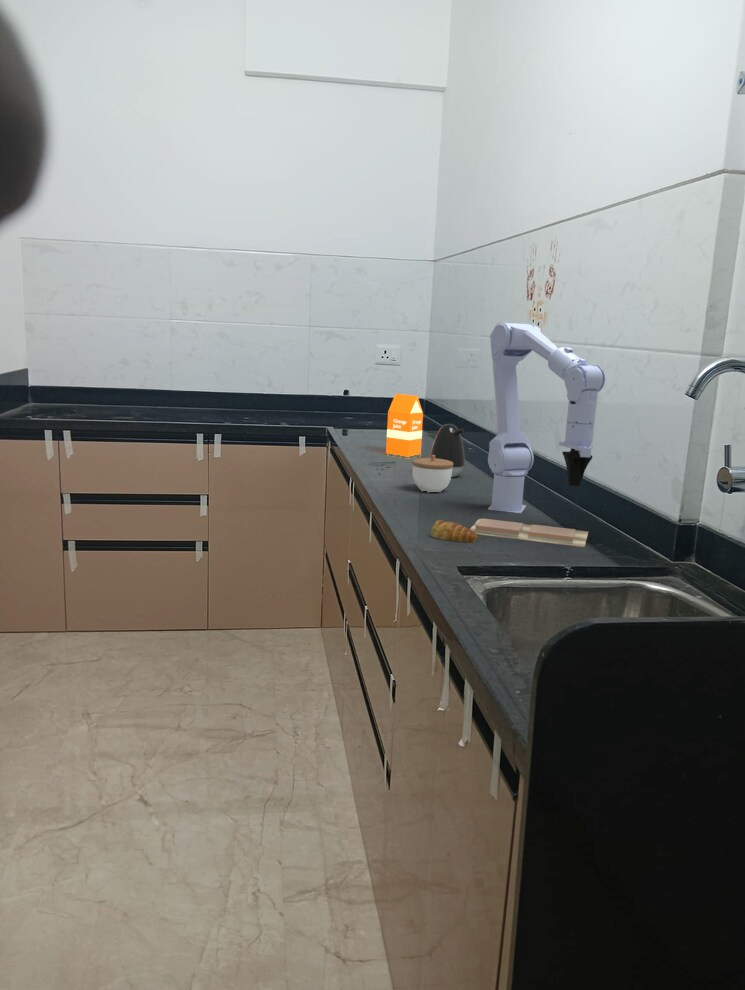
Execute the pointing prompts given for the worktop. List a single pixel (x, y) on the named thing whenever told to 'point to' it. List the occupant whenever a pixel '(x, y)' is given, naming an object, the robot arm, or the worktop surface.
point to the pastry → (453, 532)
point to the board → (578, 539)
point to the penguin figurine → (449, 447)
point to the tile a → (499, 527)
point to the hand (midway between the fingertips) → (574, 485)
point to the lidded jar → (432, 473)
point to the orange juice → (404, 426)
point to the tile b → (551, 533)
